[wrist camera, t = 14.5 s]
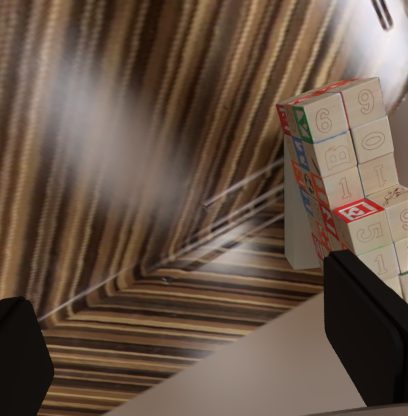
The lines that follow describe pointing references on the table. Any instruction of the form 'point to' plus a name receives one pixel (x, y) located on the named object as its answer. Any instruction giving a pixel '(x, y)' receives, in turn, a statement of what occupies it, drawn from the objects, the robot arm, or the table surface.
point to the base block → (296, 222)
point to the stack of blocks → (350, 175)
